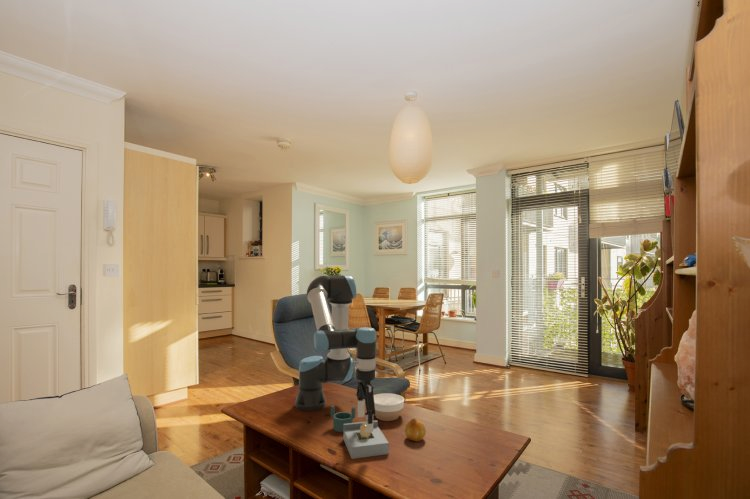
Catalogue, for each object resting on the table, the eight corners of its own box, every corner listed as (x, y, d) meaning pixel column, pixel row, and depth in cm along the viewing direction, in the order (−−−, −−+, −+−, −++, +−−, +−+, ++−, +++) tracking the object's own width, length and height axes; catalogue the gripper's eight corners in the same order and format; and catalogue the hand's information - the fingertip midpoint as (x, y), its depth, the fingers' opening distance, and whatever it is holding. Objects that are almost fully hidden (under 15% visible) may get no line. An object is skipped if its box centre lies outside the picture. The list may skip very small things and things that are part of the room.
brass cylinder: (358, 444, 146) (359, 423, 146) (368, 443, 147) (368, 422, 147) (361, 449, 142) (361, 427, 142) (371, 448, 143) (371, 426, 143)
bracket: (356, 429, 160) (357, 407, 160) (337, 433, 155) (337, 411, 156) (347, 421, 167) (347, 401, 168) (328, 426, 163) (328, 404, 163)
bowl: (399, 425, 164) (399, 406, 164) (365, 420, 169) (365, 402, 169) (408, 412, 179) (408, 395, 179) (376, 407, 184) (376, 391, 184)
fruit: (398, 434, 149) (409, 418, 149) (404, 428, 157) (414, 412, 156) (415, 449, 146) (426, 432, 145) (421, 442, 154) (431, 426, 153)
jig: (343, 439, 150) (343, 423, 150) (377, 435, 154) (377, 420, 154) (351, 458, 135) (351, 441, 135) (388, 453, 139) (388, 437, 139)
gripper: (349, 360, 157) (349, 412, 156) (364, 378, 133) (363, 439, 132) (367, 359, 159) (366, 410, 158) (384, 377, 135) (383, 437, 134)
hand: (365, 424), depth 145 cm, fingers open, 13 cm apart
